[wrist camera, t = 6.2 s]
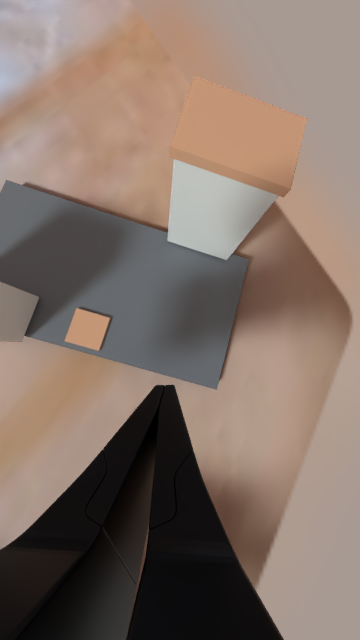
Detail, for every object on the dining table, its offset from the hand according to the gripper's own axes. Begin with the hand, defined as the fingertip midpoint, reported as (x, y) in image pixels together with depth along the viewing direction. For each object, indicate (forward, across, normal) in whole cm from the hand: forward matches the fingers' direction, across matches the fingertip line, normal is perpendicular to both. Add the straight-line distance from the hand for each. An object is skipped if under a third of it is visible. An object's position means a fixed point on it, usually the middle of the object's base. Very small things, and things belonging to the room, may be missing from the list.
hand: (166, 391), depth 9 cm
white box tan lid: (+15, -2, -5) cm, 16 cm away
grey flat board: (+12, +7, -2) cm, 14 cm away
